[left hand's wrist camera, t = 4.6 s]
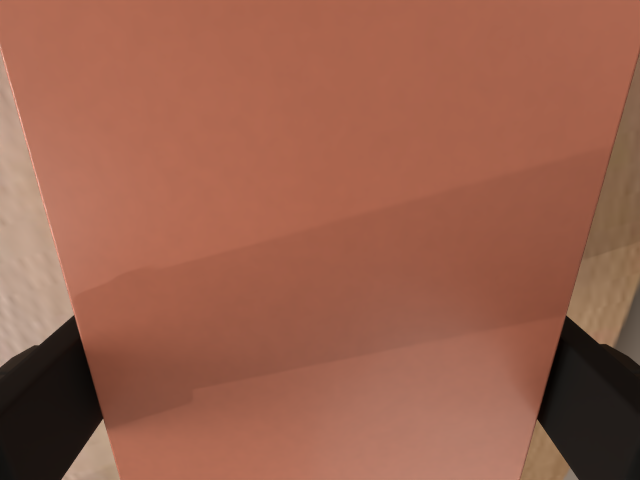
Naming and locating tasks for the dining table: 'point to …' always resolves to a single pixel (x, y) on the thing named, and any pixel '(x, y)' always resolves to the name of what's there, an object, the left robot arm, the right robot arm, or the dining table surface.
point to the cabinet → (320, 220)
